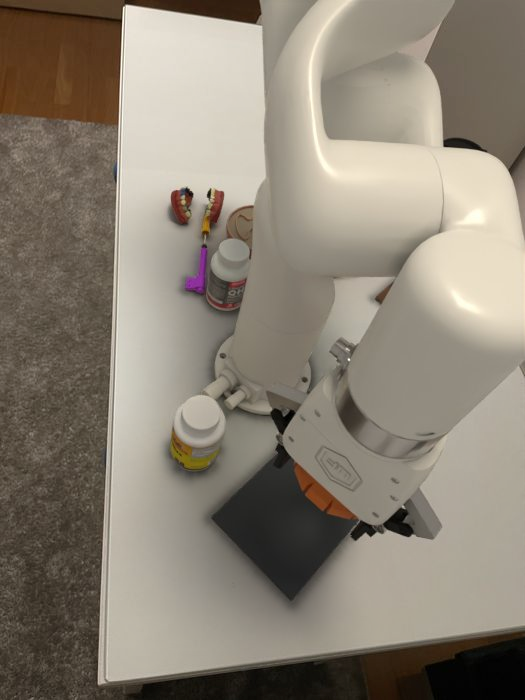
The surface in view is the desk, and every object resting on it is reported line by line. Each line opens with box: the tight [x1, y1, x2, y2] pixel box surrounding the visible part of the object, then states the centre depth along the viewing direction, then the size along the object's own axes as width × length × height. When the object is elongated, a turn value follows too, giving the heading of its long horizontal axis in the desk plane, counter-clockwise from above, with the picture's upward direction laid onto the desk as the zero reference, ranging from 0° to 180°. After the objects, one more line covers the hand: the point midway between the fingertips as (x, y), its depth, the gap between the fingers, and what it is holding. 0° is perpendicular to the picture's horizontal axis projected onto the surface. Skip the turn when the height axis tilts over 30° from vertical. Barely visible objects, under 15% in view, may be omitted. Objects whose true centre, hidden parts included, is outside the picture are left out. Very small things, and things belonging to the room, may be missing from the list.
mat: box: [211, 452, 360, 601], centre depth 62 cm, size 12×12×1 cm
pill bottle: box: [205, 238, 251, 312], centre depth 74 cm, size 5×5×10 cm
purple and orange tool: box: [185, 215, 211, 295], centre depth 81 cm, size 3×1×16 cm
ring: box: [294, 460, 359, 519], centre depth 52 cm, size 10×10×2 cm
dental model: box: [170, 185, 225, 225], centre depth 84 cm, size 6×4×8 cm
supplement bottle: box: [170, 394, 227, 472], centre depth 61 cm, size 6×6×10 cm
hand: (323, 490), depth 50 cm, fingers closed on ring, 8 cm apart
